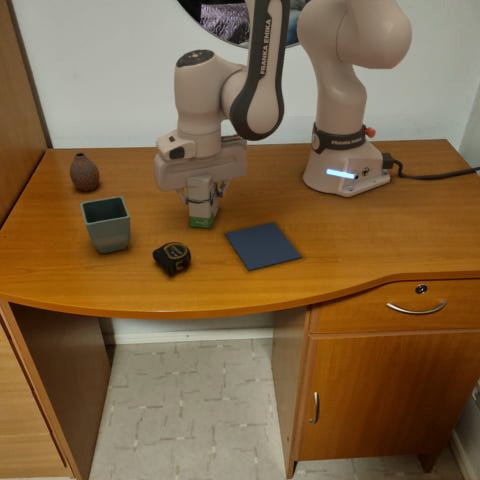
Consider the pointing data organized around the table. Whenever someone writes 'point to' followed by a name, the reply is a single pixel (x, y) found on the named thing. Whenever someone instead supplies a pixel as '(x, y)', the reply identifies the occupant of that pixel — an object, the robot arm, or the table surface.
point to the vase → (84, 172)
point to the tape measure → (172, 257)
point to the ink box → (202, 200)
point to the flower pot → (107, 223)
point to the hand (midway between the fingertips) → (203, 200)
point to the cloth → (262, 246)
